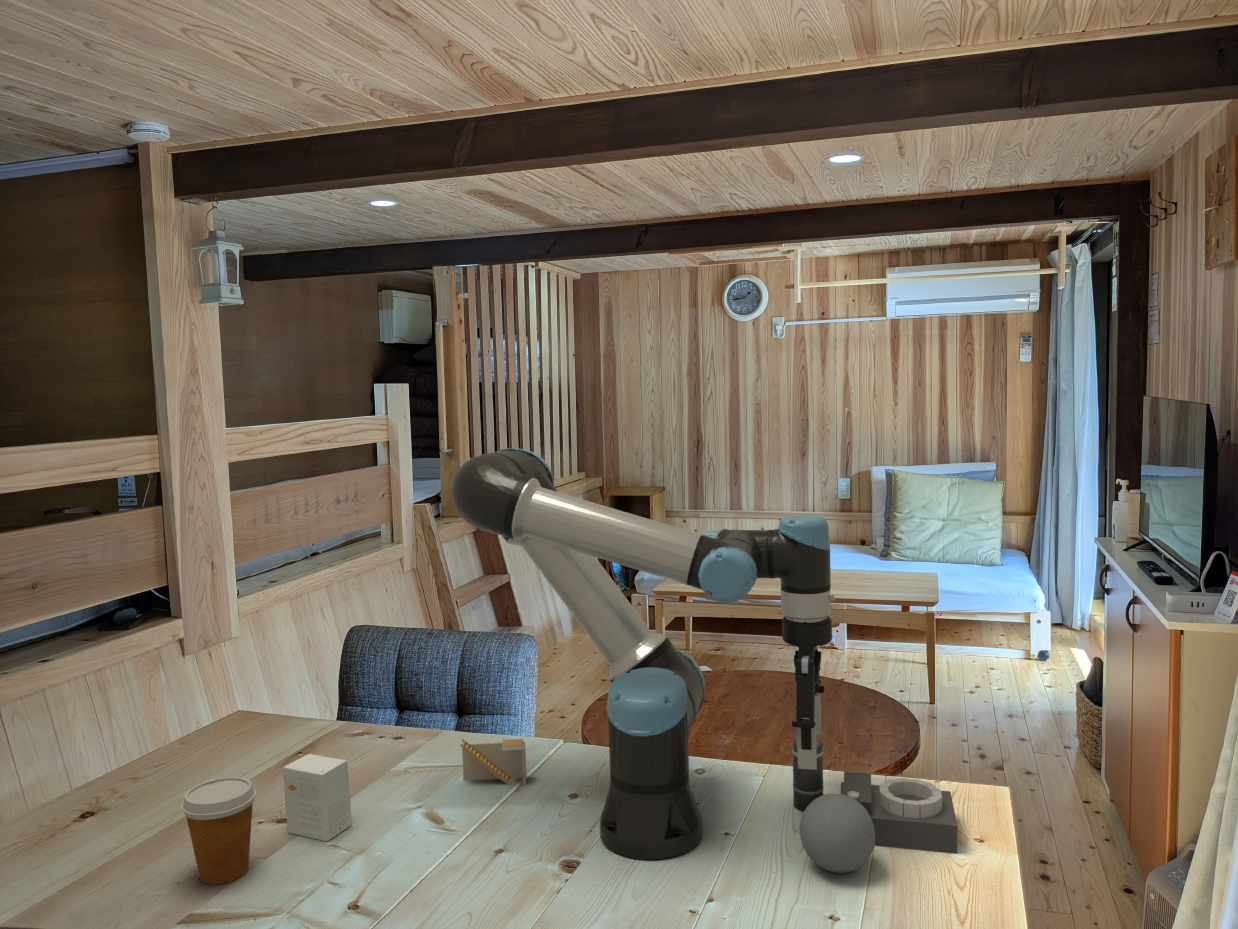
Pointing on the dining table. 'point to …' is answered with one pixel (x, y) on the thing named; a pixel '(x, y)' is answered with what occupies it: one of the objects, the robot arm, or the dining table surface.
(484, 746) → the model
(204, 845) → the disposable coffee cup
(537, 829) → the dining table surface
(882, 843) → the camera body
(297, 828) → the small box
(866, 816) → the decorative stone
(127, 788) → the dining table surface
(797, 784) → the lens
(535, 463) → the robot arm
